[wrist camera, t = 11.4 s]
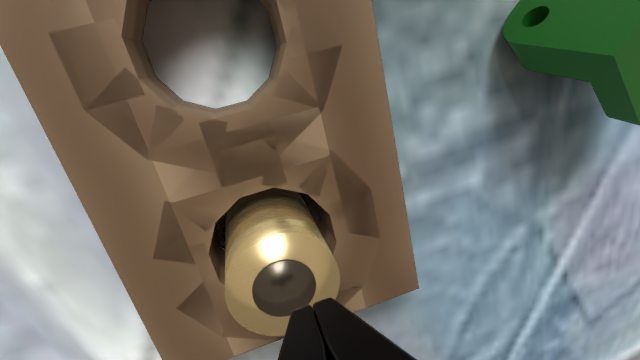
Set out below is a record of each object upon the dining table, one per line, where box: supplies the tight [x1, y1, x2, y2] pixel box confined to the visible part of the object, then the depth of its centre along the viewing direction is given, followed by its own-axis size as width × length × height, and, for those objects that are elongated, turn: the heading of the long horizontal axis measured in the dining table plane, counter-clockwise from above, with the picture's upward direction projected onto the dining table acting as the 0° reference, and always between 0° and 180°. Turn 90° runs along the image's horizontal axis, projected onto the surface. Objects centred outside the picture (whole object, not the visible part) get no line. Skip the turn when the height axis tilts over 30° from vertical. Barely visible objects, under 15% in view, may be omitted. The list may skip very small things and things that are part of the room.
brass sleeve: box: [225, 187, 340, 336], centre depth 15 cm, size 4×4×6 cm
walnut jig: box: [0, 0, 419, 360], centre depth 15 cm, size 12×18×3 cm
